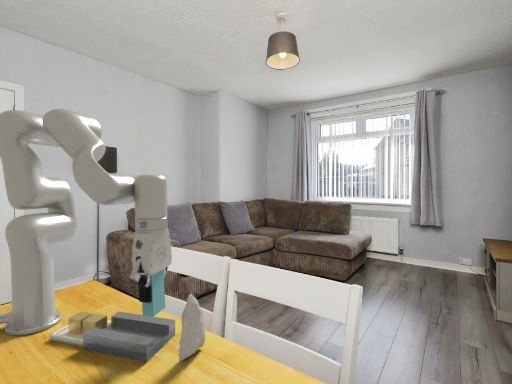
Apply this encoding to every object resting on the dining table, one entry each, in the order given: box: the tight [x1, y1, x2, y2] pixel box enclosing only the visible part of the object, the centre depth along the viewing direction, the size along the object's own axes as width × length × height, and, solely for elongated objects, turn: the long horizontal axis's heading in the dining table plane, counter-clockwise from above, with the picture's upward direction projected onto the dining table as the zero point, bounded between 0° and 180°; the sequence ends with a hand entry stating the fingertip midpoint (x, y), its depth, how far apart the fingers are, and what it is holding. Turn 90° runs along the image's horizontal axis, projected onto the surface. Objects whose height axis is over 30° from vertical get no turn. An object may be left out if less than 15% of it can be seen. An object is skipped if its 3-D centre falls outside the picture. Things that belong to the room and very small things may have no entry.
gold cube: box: [83, 313, 108, 333], centre depth 74 cm, size 4×4×4 cm
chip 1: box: [67, 311, 94, 335], centre depth 75 cm, size 4×4×4 cm
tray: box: [49, 319, 111, 348], centre depth 75 cm, size 11×10×2 cm
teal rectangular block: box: [141, 269, 166, 317], centre depth 69 cm, size 3×5×11 cm, turn 165°
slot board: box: [82, 311, 176, 363], centre depth 71 cm, size 18×12×4 cm, turn 75°
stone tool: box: [178, 293, 206, 362], centre depth 65 cm, size 8×3×15 cm, turn 150°
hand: (152, 296), depth 69 cm, fingers closed on teal rectangular block, 4 cm apart
